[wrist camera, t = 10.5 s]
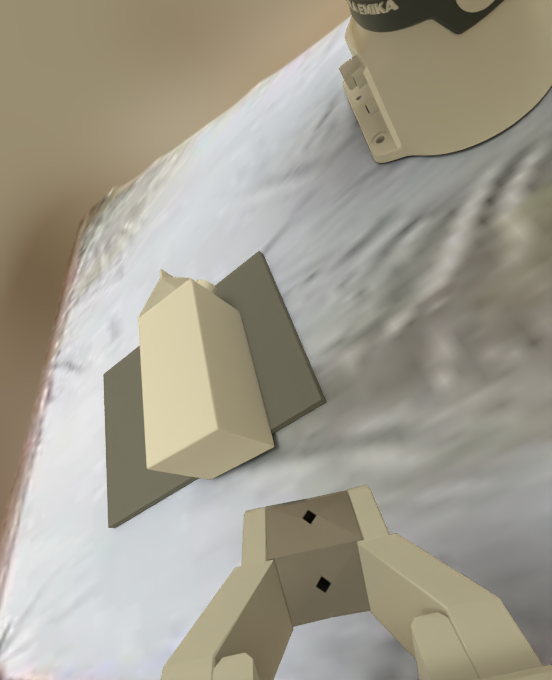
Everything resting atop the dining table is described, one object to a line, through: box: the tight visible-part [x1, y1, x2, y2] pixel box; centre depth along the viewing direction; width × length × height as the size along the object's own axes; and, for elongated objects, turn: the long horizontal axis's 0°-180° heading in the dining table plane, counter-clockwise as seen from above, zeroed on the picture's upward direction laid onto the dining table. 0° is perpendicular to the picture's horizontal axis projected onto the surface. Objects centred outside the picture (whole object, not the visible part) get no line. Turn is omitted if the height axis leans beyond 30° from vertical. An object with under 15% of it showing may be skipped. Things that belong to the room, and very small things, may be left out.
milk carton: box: [138, 269, 274, 479], centre depth 36 cm, size 7×7×19 cm
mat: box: [104, 251, 326, 528], centre depth 41 cm, size 19×26×1 cm
